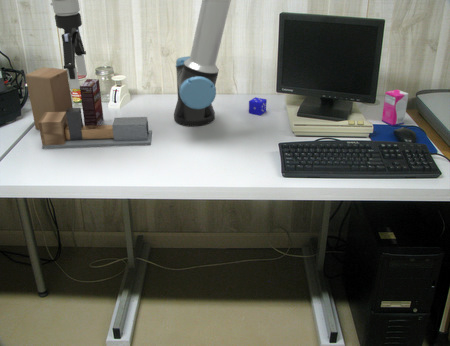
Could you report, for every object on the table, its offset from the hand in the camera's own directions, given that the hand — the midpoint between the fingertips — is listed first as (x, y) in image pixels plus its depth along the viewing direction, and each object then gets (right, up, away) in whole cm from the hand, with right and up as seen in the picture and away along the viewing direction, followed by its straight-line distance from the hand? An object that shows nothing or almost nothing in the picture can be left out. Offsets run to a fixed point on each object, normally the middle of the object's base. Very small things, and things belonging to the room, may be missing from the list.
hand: (79, 81), depth 160 cm
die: (+59, -6, +32) cm, 67 cm away
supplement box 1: (0, -12, +21) cm, 24 cm away
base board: (+4, -18, +9) cm, 21 cm away
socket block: (-10, -19, +8) cm, 23 cm away
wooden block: (-14, -13, +20) cm, 28 cm away
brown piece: (0, -17, +8) cm, 19 cm away
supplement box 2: (+108, -11, +23) cm, 111 cm away
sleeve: (+15, -18, +10) cm, 25 cm away
